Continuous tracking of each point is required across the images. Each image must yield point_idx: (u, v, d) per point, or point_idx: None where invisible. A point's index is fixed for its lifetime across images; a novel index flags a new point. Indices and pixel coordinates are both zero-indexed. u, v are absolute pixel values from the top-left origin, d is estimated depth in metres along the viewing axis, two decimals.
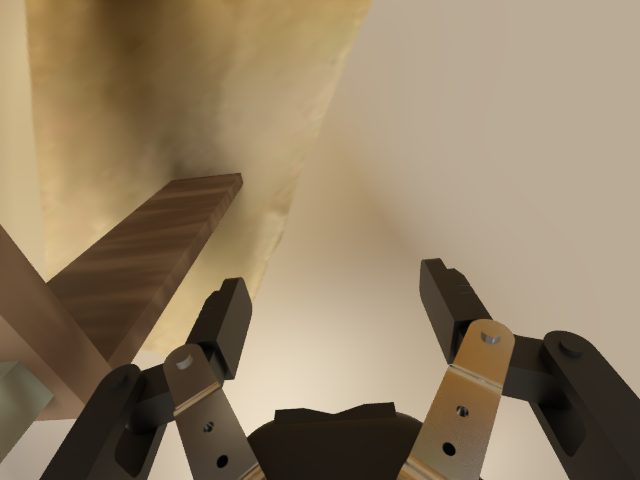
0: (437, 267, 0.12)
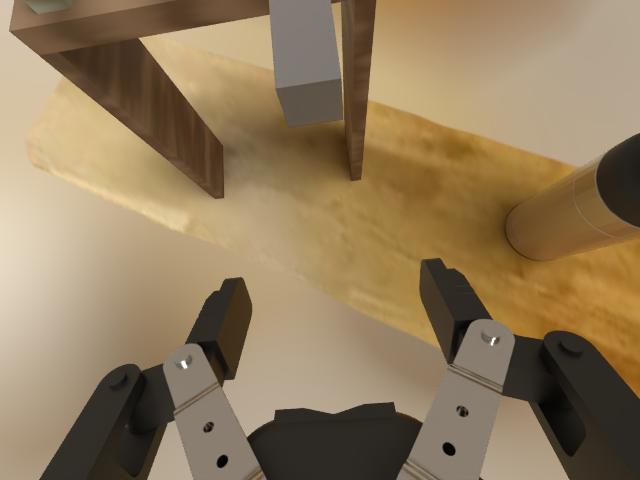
0: (437, 267, 0.12)
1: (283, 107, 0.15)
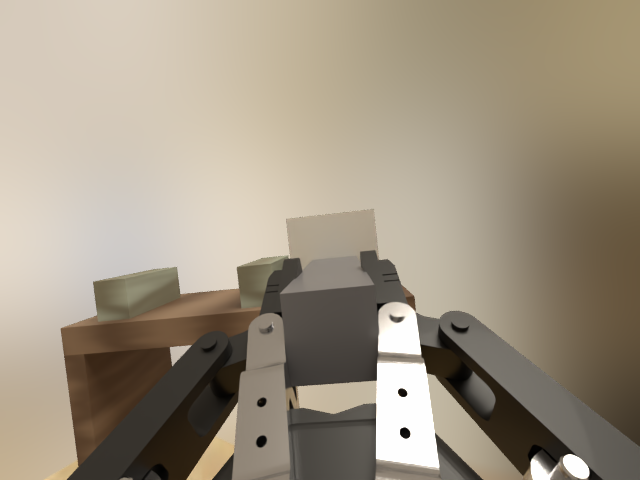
0: (370, 258, 0.13)
1: (286, 334, 0.09)
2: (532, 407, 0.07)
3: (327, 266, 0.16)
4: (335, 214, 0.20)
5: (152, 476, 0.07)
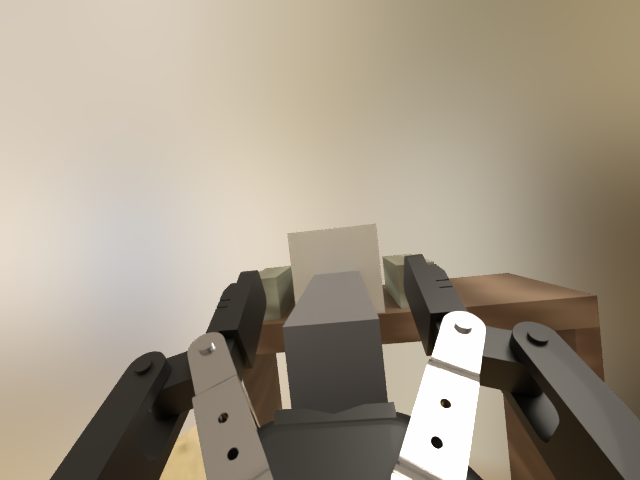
0: (418, 262, 0.12)
1: (289, 368, 0.09)
2: (601, 440, 0.06)
3: (329, 286, 0.15)
4: (337, 229, 0.20)
5: None
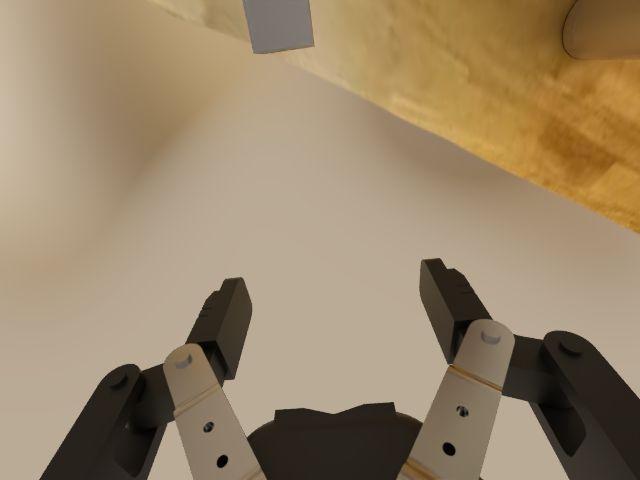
0: (437, 267, 0.12)
1: (259, 53, 0.16)
2: (631, 459, 0.06)
3: None
4: None
5: None
